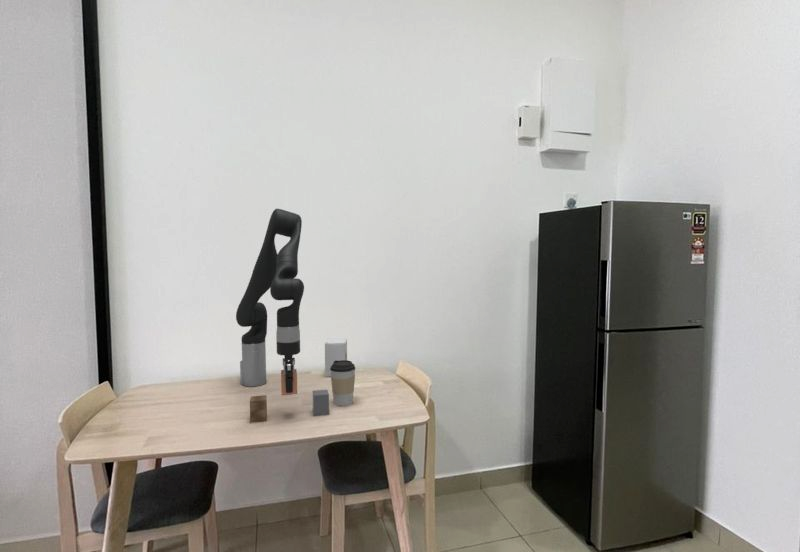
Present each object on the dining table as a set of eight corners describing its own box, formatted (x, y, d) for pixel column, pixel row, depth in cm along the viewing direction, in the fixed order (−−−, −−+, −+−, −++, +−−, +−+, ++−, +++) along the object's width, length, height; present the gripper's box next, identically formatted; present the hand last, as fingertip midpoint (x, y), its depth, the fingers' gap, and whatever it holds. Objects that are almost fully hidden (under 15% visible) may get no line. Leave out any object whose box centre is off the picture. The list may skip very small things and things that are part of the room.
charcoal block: (313, 416, 144) (313, 395, 143) (312, 410, 148) (312, 390, 148) (329, 414, 145) (328, 394, 144) (327, 409, 150) (327, 389, 149)
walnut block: (250, 423, 138) (249, 401, 138) (251, 417, 143) (250, 396, 143) (266, 421, 140) (266, 400, 139) (267, 415, 144) (266, 394, 144)
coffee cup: (359, 399, 159) (359, 359, 158) (349, 408, 150) (348, 366, 149) (337, 396, 162) (337, 357, 161) (326, 405, 153) (325, 363, 152)
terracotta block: (281, 395, 140) (281, 374, 140) (281, 390, 145) (281, 370, 145) (297, 394, 142) (296, 373, 141) (296, 389, 146) (296, 368, 146)
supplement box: (345, 377, 186) (345, 342, 185) (324, 377, 186) (324, 343, 185) (347, 371, 195) (347, 338, 194) (327, 371, 195) (327, 338, 194)
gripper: (300, 343, 136) (301, 396, 137) (299, 334, 150) (299, 382, 151) (276, 344, 134) (277, 398, 135) (276, 335, 148) (277, 383, 149)
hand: (289, 389), depth 143 cm, fingers closed on terracotta block, 5 cm apart
